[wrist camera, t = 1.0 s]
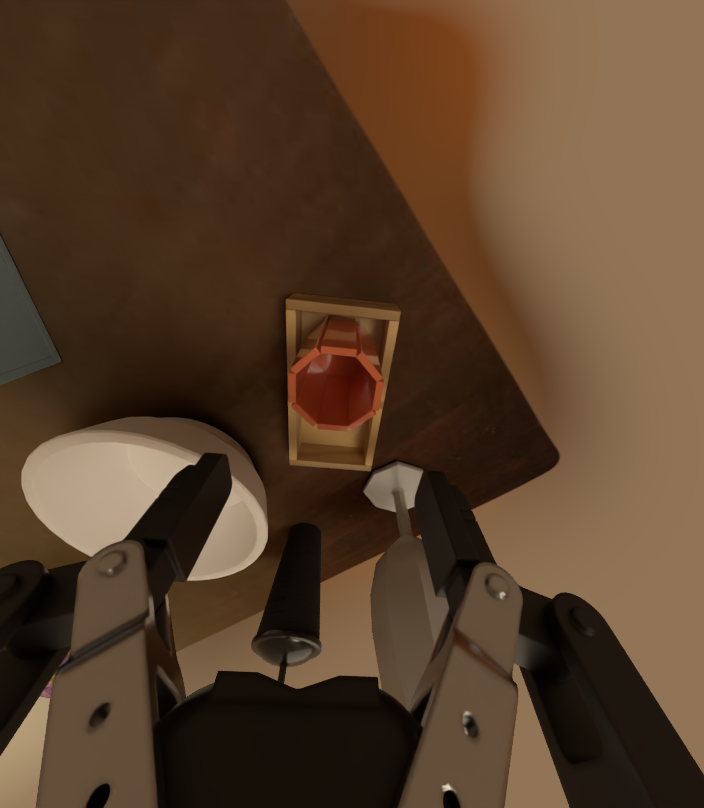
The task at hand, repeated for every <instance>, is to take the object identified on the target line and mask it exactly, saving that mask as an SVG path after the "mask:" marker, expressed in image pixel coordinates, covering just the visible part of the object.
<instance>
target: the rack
mask: <svg viewBox="0 0 704 808" xmlns="http://www.w3.org/2000/svg"><path fill="white" fill-rule="evenodd" d="M400 315H401V311H400V310H399V309H398V307H397V306H396V304H393V303H384V302H375V301H366V300H357V299H348V298H339V297H330V296H321V295H312V294H303V293H293V294H292V295H291V296H289V297H288V298H286V338H287V380H288V373H289V371H290V368H291V366H292V364H293V362H294V360H295V359H296V357H297V355H298V353H299V351H300V349H301V347H302V345H303V344H304V342H305V340H306V338H307V336H308V334H309V332H310V331H311V330H313V329H314V328H315V327H316V326H317V325H318V324H320V323H321V322H322V321H323V320H324V319H325V318H326V317H328V318H330V317H331V316H339V317H348V318H356V321H357V322H358V321H360V322H361V323H362V324H363V326H364V327H365V328H366V330H367V331H368V332H369V333H370V335H371V336H372V337H373V339H374V342H375V346H376V350H377V354H378V359H379V363H380V367H381V371H382V376H383V380H384V386H383V392H382V397H381V402H380V408H379V411H376V415H375V416H373V417H372V418H370V419H369V420H367V421H366V422H364V423H362V424H361V425H359V426H358V427H356V428H355V429H353V430H351V429H350V428H349V427H348V431H347V432H346V431H334V430H323V429H317V424H316V425H315V426H313V427H312V426H311V425H310V424H309V423H308V422H307V421H306V420H305V419H303V418H302V417H301V416H300V415H299V414H298V413H297V412H296V411H295V410H294V409H293V408H292V407H291V405H292V403H289V397H288V426H289V464H290V465H298V466H310V467H323V468H336V469H348V470H361V471H371V467H372V461H373V456H374V451H375V446H376V440H377V435H378V430H379V425H380V420H381V414H382V409H383V404H384V399H385V394H386V389H387V383H388V378H389V373H390V368H391V362H392V357H393V352H394V347H395V342H396V336H397V331H398V326H399V320H400Z"/></svg>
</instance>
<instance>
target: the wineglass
mask: <svg viewBox="0 0 704 808" xmlns="http://www.w3.org/2000/svg"><path fill="white" fill-rule="evenodd" d="M422 473H423V470H422V469H421V468H419V467H415V466H412V465H409V464H406V463H402V462H399V461H396V462H394V463H391V464H389V465H387V466H384V467H382V468H380V469H377V470H375V471H373V473H372V475H371V476H370V478H369V480H368V481H367V483H366V485H365V486H364V488H363V492H364V493H365V495H366V496H367V497H368V498H369V499H370V500H371V502H372V503H373V504H374V505H375V506H376V507H379V508H382V509H386V510H390V511H394V512H396V514H397V520H398V526H399V532H400V538H399V539H398V540H397V541H396V542H395V543H393V544H392V545H391V546H390V547H389V548H388V549H387V550H386V552H385V553H384V554H383V555H382V557H381V558H380V559H379V560H378V562H377V563H376V567H375V572H374V578H373V584H372V589H371V617H372V633H373V639H374V644H375V650H376V656H377V662H378V668H379V674H380V680H381V686H382V690H383V691H385V692H387V693H388V694H390V695H391V696H393V697H394V698H395V699H397V700H398V701H399V702H400V703H401V704H402V705H403V706H404V707H405V708H406V709H407V710H408V709H409V706H410V704H411V701H412V698H413V696H414V693H415V691H416V688H417V686H418V684H419V682H420V679H421V677H422V675H423V673H424V671H425V669H426V667H427V664H428V662H429V659H430V656H431V654H432V651H433V648H434V646H435V643H436V640H437V638H438V635H439V632H440V630H441V627H442V624H443V622H444V619H445V616H446V614H447V611H448V609H449V605H448V602H447V598H442V597H436V596H435V592H434V588H433V584H432V579H431V575H430V571H429V567H428V563H427V558H426V554H425V550H424V546H423V542H422V540H421V539H419V538H417V537H415V536H413V535H412V530H411V525H410V520H409V515H408V510H407V509H409V508H412V507H415V506H414V500H415V494H416V491H417V488H418V485H419V482H420V479H421V476H422Z"/></svg>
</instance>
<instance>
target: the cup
mask: <svg viewBox="0 0 704 808" xmlns="http://www.w3.org/2000/svg"><path fill="white" fill-rule="evenodd" d="M383 386H384V380H383V376H382V371H381V367H380V363H379V359H378V354H377V350H376V346H375V342H374V339H373V337H372V336H371V335H370V333H369V332H368V331H367V330H366V328H365V327H364V326H363V324H362V323H361V322H360V321H358V322H357V321H356V318H348V317H339V316H331V317H330V318H328V317H326V318H325V319H324V320H323V321H322V322H321V323H320V324H318V325H317V326H316V327H315V328H314V329H313V330H311V331H310V332H309V334H308V336H307V338H306V340H305V342H304V344H303V345H302V347H301V349H300V351H299V353H298V355H297V357H296V359H295V360H294V362H293V364H292V366H291V368H290V371H289V373H288V397H289V403H292V405H291V407H292V408H293V409H294V410H295V411H296V412H297V413H298V414H299V415H300V416H301V417H302V418H303V419H305V420H306V421H307V422H308V423H309V424H310V425H311V426H312V427H313V426H315V425H316V424H317V429H323V430H334V431H346V432H347V431H348V427H349V428H350V429H351V430H353V429H355V428H356V427H358V426H359V425H361V424H362V423H364V422H366V421H367V420H369V419H370V418H372V417H373V416H375V415H376V411H379V408H380V402H381V397H382V392H383Z"/></svg>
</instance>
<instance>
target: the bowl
mask: <svg viewBox="0 0 704 808" xmlns="http://www.w3.org/2000/svg"><path fill="white" fill-rule="evenodd" d="M206 452H208V453H220V454H226V455H227V456H228V461H229V466H230V472H231V477H232V489H231V493H230V496H229V498H228V500H227V502H226V504H225V506H224V508H223V510H222V512H221V514H220V516H219V518H218V520H217V522H216V524H215V526H214V528H213V530H212V532H211V534H210V536H209V537H208V539H207V541H206V543H205V545H204V547H203V549H202V551H201V553H200V555H199V557H198V559H197V561H196V563H195V565H194V567H193V569H192V571H191V573H190V575H189V577H188V579H187V580H207V579H215V578H220V577H224V576H228V575H231V574H234V573H236V572H238V571H240V570H243V569H245V568H246V567H247V566H249V565H250V564H252V563H253V562H254V561H255V560H256V559H257V558H258V557H259V555H260V554H261V553H262V552H263V550H264V548H265V545H266V542H267V540H268V520H267V504H266V493H265V490H264V486H263V483H262V481H261V479H260V477H259V475H258V474H257V472H256V470H255V469H254V466H253V463H252V461H251V459H250V457H249V456H248V454H247V453H246V451H245V450H244V449H243V448H242V447H241V445H240V444H238V443H237V442H236V441H235V440H234V439H233V438H231V437H230V436H229V435H227V434H225V433H224V432H222V431H221V430H219V429H217V428H215V427H212V426H210V425H208V424H206V423H202V422H199V421H196V420H192V419H186V418H179V417H164V418H156V417H127V418H122V419H117V420H112V421H109V422H105V423H101V424H98V425H94V426H91V427H87V428H84V429H80V430H77V431H73V432H70V433H66V434H62V435H59V436H57V437H55V438H53V439H51V440H48V441H46V442H44V443H42V444H41V445H39V446H38V447H37V448H36V449H35V450H34V451H33V452H32V453H31V454H30V455H29V456H28V458H27V460H26V463H25V465H24V467H23V470H22V489H23V492H24V494H25V497H26V500H27V502H28V504H29V505H30V507H31V508H32V510H33V511H34V513H35V514H36V516H37V517H38V518H39V519H40V520H41V521H42V522H43V523H44V524H45V525H46V526H47V527H48V528H49V529H50V530H51V531H52V532H53V533H55V534H56V535H57V536H59V537H60V538H61V539H63V540H64V541H65V542H66V543H68V544H70V545H71V546H73V547H75V548H76V549H78V550H80V551H81V552H83V553H85V554H87V555H89V556H91V557H92V556H93V555H94V554H96V553H97V552H98V551H100V550H101V549H103V548H105V547H106V546H108V545H111V544H113V543H116V542H119V541H122V540H123V539H124V538H125V537H126V536H127V535H128V533H129V532H130V531H131V530H132V528H133V527H134V526H135V525H136V523H137V522H138V521H139V520H140V518H141V517H142V516H143V515H144V513H145V512H146V511H147V510H148V508H149V507H150V506H151V504H152V503H153V502H154V501H155V499H156V498H158V497H159V494H160V493H161V492H162V491H163V489H164V488H166V486H167V484H168V483H169V482H170V481H171V479H172V478H173V477H174V476H175V474H176V473H178V472H179V471H181V470H182V469H184V468H185V467H186V466H188V465H196V463H197V462H198V461H199V459H200V458H201V456H202V455H203V454H204V453H206Z"/></svg>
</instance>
